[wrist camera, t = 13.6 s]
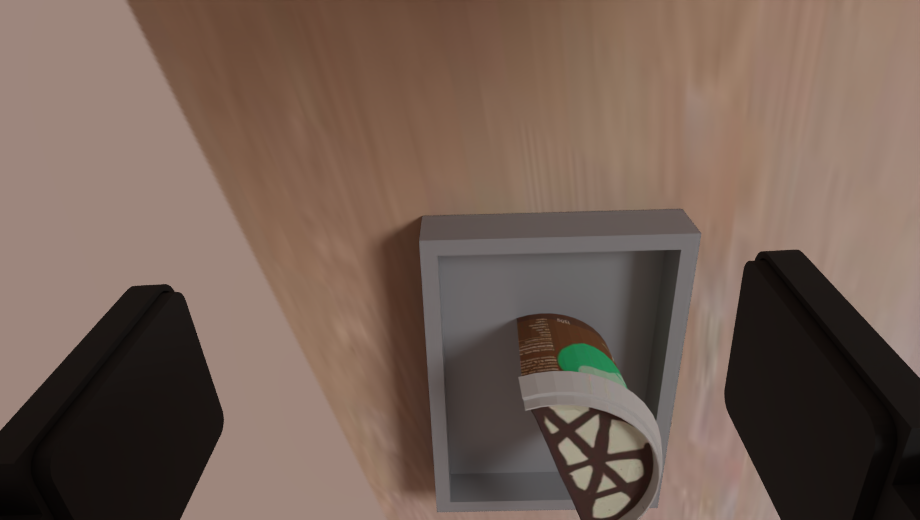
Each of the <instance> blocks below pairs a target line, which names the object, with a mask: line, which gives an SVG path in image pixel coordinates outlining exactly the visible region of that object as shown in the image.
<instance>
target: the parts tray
mask: <svg viewBox="0 0 920 520" xmlns="http://www.w3.org/2000/svg"><path fill="white" fill-rule="evenodd" d="M700 238H701V232H700V231H699V230H698V228H697V227H696V226H695V225H694V223H693V222H692V221H691V219H690V218H689V217H688V216H687V214H686V213H685V212H684V210H683V209H663V210H626V211H589V212H552V213H515V214H479V215H442V216H422V222H421V230H420V238H419V247H420V263H421V278H422V293H423V308H424V323H425V338H426V353H427V368H428V384H429V399H430V414H431V429H432V444H433V459H434V474H435V489H436V504H437V512H477V511H526V510H575V509H576V508H575V506H574V504H573V501H572V499H571V497H570V495H569V493H568V491H567V488H566V486H565V484H564V482H563V480H562V479H561V477H560V474H559V472H558V469H557V467H556V465H555V462H554V460H553V457H552V455H551V453H550V450H549V448H548V446H547V443H546V441H545V439H544V437H543V434H542V432H541V430H540V427H539V425H538V423H537V421H536V419H535V417H534V415H533V413H532V412H531V410H527V411H525V407H524V400H523V398H522V394H521V389H520V383H519V378H518V377H521V365H520V354H519V343H518V331H517V320H516V318H519V317H523V316H526V315H532V314H539V313H553V314H561V315H566V316H570V317H573V318H576V319H578V320H580V321H583V322H585V323H586V324H588V325H589V326H591V327H592V328H593V329H595V330H596V331H597V332H598V333H599V334H600V335H601V337H602V338H603V339H604V341H605V342H606V345H607V347H608V349H609V351H610V353H611V355H612V357H613V359H614V361H615V363H616V365H617V367H618V370H619V372H620V374H621V376H622V378H623V380H624V382H625V384H626V386H627V388H628V390H629V391H631V392H633V393H634V394H635V395H636V396H637V397H638V398H639V399H640V400H642V401H643V402H644V403H645V405H646V406H647V407H648V409H649V410H650V411H651V413H652V414H653V416H654V418H655V420H656V423H657V425H658V428H659V432H660V437H661V446H662V474H661V478H660V483H659V488H658V491H657V494H656V496H655V498H654V501H653V502H652V504H651V505H650V507H649V508H658V502H659V495H660V489H661V483H662V477H663V470H664V464H665V458H666V452H667V445H668V439H669V433H670V427H671V420H672V414H673V408H674V401H675V395H676V389H677V383H678V376H679V370H680V364H681V358H682V351H683V345H684V339H685V332H686V326H687V320H688V314H689V307H690V301H691V295H692V289H693V282H694V276H695V270H696V264H697V257H698V251H699V245H700Z"/></svg>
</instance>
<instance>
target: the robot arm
mask: <svg viewBox="0 0 920 520" xmlns="http://www.w3.org/2000/svg"><path fill="white" fill-rule="evenodd" d="M724 394H725V404H726V408H727V411H728V413H729V415H730V418H731V420H732V422H733V424H734V426H735V428H736V430H737V432H738V434H739V436H740V438H741V440H742V442H743V444H744V446H745V448H746V450H747V452H748V454H749V456H750V458H751V460H752V462H753V464H754V466H755V468H756V470H757V472H758V474H759V476H760V478H761V480H762V482H763V484H764V486H765V488H766V490H767V492H768V494H769V496H770V498H771V501H772V503H773V505H774V507H775V509H776V511H777V513H778V515H779V517H780V519H781V520H920V378H919V377H918V376H917V375H916V374H915V373H914V372H913V370H912V369H911V368H910V367H909V366H908V365H907V364H906V363H905V362H904V361H903V360H902V359H901V358H900V357H899V355H898V354H897V353H896V352H895V351H894V350H893V349H892V348H891V347H890V346H889V345H888V344H887V343H886V342H885V340H884V339H883V338H882V337H881V336H880V335H879V334H878V333H877V332H876V331H875V330H874V329H873V328H872V327H871V325H870V324H869V323H868V322H867V321H866V320H865V319H864V318H863V317H862V316H861V315H860V314H859V313H858V312H857V310H856V309H855V308H854V307H853V306H852V305H851V304H850V303H849V302H848V301H847V300H846V299H845V298H844V297H843V295H842V294H841V293H840V292H839V291H838V290H837V289H836V288H835V287H834V286H833V285H832V284H831V283H830V281H829V280H828V279H827V278H826V277H825V276H824V275H823V274H822V273H821V272H820V271H819V270H818V269H817V268H816V266H815V265H814V264H813V263H812V262H811V261H810V260H809V259H808V258H807V257H806V256H805V255H804V254H803V253H802V252H801V251H800V250H781V251H763V252H760V253H758V255H757V257H756V258H755V261H748V262H747V263H746V264H745V267H744V271H743V277H742V283H741V290H740V296H739V302H738V308H737V315H736V321H735V327H734V334H733V340H732V346H731V353H730V359H729V365H728V372H727V378H726V384H725V393H724ZM223 422H224V417H223V411H222V408H221V405H220V402H219V399H218V396H217V393H216V390H215V387H214V384H213V381H212V378H211V375H210V372H209V369H208V366H207V363H206V360H205V357H204V354H203V351H202V348H201V345H200V342H199V339H198V336H197V333H196V330H195V327H194V324H193V321H192V318H191V315H190V312H189V309H188V306H187V303H186V300H185V298H184V296H183V295H182V294H181V293H179V292H174V290H173V289H172V287H171V286H169V285H167V284H162V285H143V286H132V287H130V288H129V289H128V290H127V291H126V292H125V293H124V294H123V295H122V296H121V297H120V299H119V300H118V301H117V302H116V303H115V304H114V305H113V306H112V307H111V309H110V310H109V311H108V312H107V313H106V314H105V315H104V316H103V318H102V319H101V320H100V321H99V322H98V323H97V324H96V325H95V326H94V328H92V330H91V331H90V332H89V333H88V334H87V335H86V336H85V337H84V338H83V340H82V341H81V342H80V343H79V344H78V345H77V346H76V347H75V348H74V350H73V351H72V352H71V353H70V354H69V355H68V356H67V357H66V358H65V360H64V361H63V362H62V363H61V364H60V365H59V366H58V368H56V370H55V371H54V372H53V373H52V374H51V375H50V376H49V377H48V378H47V380H46V381H45V382H44V383H43V384H42V385H41V386H40V387H39V388H38V390H37V391H36V392H35V393H34V394H33V395H32V396H31V397H30V399H28V401H27V402H26V403H25V404H24V405H23V406H22V407H21V408H20V410H19V411H18V412H17V413H16V414H15V415H14V416H13V417H12V418H11V420H10V421H9V422H8V423H7V424H6V425H5V426H4V427H3V428H2V429H1V431H0V520H180V518H181V516H182V514H183V512H184V510H185V508H186V506H187V504H188V502H189V500H190V498H191V496H192V493H193V491H194V489H195V487H196V485H197V483H198V481H199V479H200V477H201V475H202V473H203V470H204V468H205V466H206V464H207V462H208V460H209V458H210V456H211V454H212V452H213V450H214V447H215V446H216V443H217V441H218V439H219V437H220V435H221V432H222V430H223Z"/></svg>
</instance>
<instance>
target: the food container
mask: <svg viewBox="0 0 920 520" xmlns="http://www.w3.org/2000/svg"><path fill="white" fill-rule="evenodd" d="M516 320H517V331H518V343H519V354H520V365H521V377H518V378H519V383H520V389H521V394H522V398H523V400H524V407H525V411H527V410H531V412H532V413H533V415H534V417H535V419H536V421H537V423H538V425H539V427H540V430H541V432H542V434H543V437H544V439H545V441H546V443H547V446H548V448H549V450H550V453H551V455H552V457H553V460H554V462H555V465H556V467H557V469H558V472H559V474H560V477H561V479H562V480H563V482H564V484H565V486H566V488H567V491H568V493H569V495H570V497H571V499H572V501H573V504H574V506H575V508H576V510H577V512H578V515H579V517H580V519H581V520H639V519H640V518H641V517H642V516H643V515H644V514H645V513H646V511H647V510H648V508H649V507H650V505H651V504H652V502H653V501H654V498H655V496H656V494H657V491H658V488H659V483H660V478H661V474H662V446H661V437H660V432H659V428H658V425H657V423H656V420H655V418H654V416H653V414H652V413H651V411H650V410H649V409H648V407H647V406H646V405H645V403H644V402H643V401H642V400H640V399H639V398H638V397H637V396H636V395H635V394H634V393H633V392H631V391H629V390H628V388H627V386H626V384H625V382H624V380H623V378H622V376H621V374H620V372H619V370H618V367H617V365H616V363H615V361H614V359H613V357H612V355H611V353H610V351H609V349H608V347H607V345H606V342H605V341H604V339H603V338H602V337H601V335H600V334H599V333H598V332H597V331H596V330H595V329H593V328H592V327H591V326H589V325H588V324H586V323H585V322H583V321H580V320H578V319H576V318H573V317H570V316H566V315H561V314H553V313H539V314H532V315H526V316H523V317H519V318H516Z"/></svg>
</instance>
